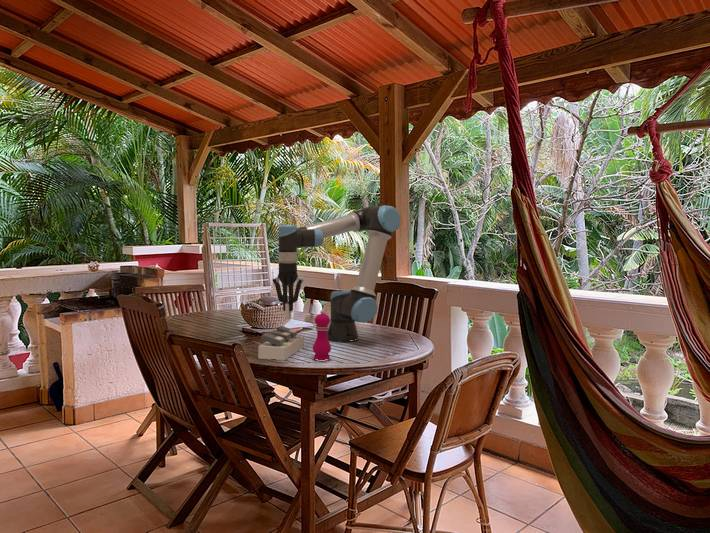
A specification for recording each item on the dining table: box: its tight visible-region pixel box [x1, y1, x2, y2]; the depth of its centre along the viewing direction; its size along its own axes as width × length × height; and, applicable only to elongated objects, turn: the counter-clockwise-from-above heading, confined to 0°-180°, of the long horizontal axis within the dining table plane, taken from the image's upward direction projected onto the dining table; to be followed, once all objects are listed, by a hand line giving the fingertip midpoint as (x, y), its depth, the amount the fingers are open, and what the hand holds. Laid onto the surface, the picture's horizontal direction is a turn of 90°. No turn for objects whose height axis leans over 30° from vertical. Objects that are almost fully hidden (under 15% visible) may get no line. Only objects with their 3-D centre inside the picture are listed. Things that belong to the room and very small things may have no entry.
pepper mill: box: [312, 309, 332, 360], centre depth 216 cm, size 7×7×20 cm
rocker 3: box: [275, 325, 298, 338], centre depth 234 cm, size 8×5×2 cm, turn 77°
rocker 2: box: [268, 329, 291, 341], centre depth 226 cm, size 8×5×2 cm, turn 77°
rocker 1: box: [260, 332, 285, 346], centre depth 218 cm, size 8×5×2 cm, turn 77°
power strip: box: [257, 335, 305, 361], centre depth 229 cm, size 11×30×6 cm, turn 167°
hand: (288, 318), depth 225 cm, fingers closed
